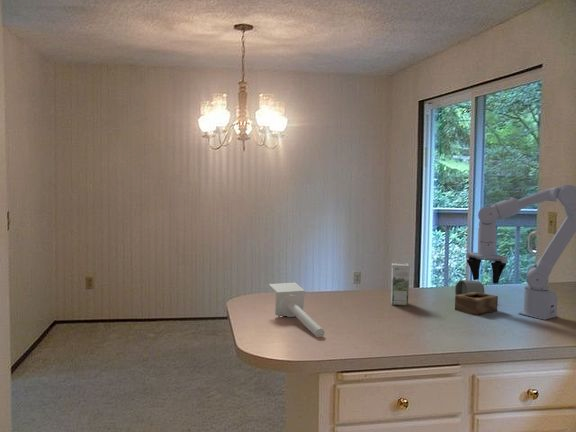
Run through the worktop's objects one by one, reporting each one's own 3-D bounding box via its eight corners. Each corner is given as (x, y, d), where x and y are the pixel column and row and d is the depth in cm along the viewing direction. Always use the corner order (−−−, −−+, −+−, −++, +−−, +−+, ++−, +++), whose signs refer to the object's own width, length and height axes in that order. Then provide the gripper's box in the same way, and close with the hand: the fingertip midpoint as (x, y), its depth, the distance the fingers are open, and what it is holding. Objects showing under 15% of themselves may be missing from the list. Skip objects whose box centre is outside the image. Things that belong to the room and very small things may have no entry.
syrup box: (406, 302, 198) (407, 262, 197) (408, 306, 193) (409, 264, 192) (390, 301, 199) (391, 261, 198) (391, 305, 193) (392, 264, 192)
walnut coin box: (474, 305, 195) (474, 291, 194) (497, 310, 187) (497, 296, 187) (454, 309, 188) (455, 295, 188) (477, 315, 181) (478, 300, 181)
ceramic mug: (485, 301, 201) (486, 280, 201) (467, 303, 198) (467, 281, 198) (466, 296, 211) (467, 276, 211) (449, 297, 208) (449, 277, 208)
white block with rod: (295, 282, 184) (336, 317, 155) (293, 307, 186) (333, 346, 157) (268, 284, 181) (305, 319, 152) (267, 309, 183) (303, 349, 153)
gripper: (461, 240, 190) (460, 279, 191) (499, 244, 179) (498, 286, 180) (473, 239, 194) (472, 277, 195) (511, 243, 183) (510, 283, 184)
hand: (485, 281), depth 188 cm, fingers open, 7 cm apart
